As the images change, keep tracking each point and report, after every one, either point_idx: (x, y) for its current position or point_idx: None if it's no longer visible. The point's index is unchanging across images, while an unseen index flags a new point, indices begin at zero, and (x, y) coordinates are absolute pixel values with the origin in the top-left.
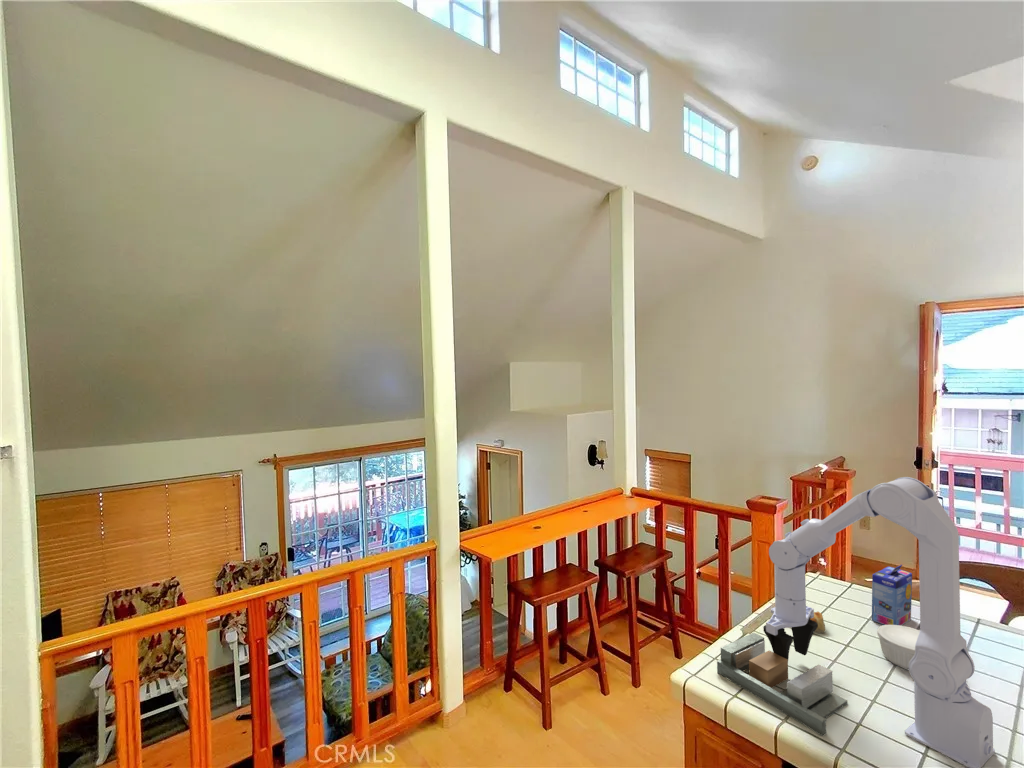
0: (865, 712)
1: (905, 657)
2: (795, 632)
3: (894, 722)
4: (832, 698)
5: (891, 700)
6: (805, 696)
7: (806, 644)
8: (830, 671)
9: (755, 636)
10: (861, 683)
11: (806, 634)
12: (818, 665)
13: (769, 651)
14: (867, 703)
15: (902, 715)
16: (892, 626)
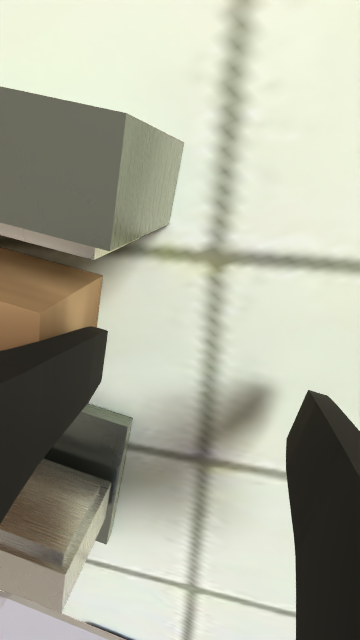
0: (108, 566)
1: None
2: (346, 504)
3: (124, 613)
4: None
5: (239, 626)
6: None
7: (294, 514)
8: (50, 607)
9: (59, 171)
10: (287, 574)
11: (305, 606)
12: (52, 574)
13: (28, 318)
14: (163, 575)
15: (176, 633)
16: None
